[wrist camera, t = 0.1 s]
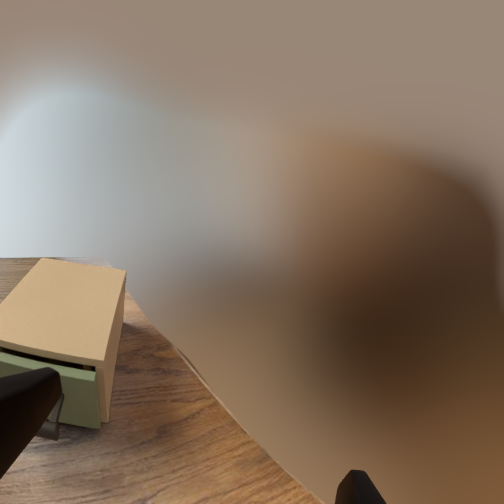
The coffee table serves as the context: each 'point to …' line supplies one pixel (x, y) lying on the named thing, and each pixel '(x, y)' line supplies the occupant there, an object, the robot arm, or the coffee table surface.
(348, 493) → the robot arm
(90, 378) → the drawer
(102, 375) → the cabinet
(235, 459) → the coffee table surface
